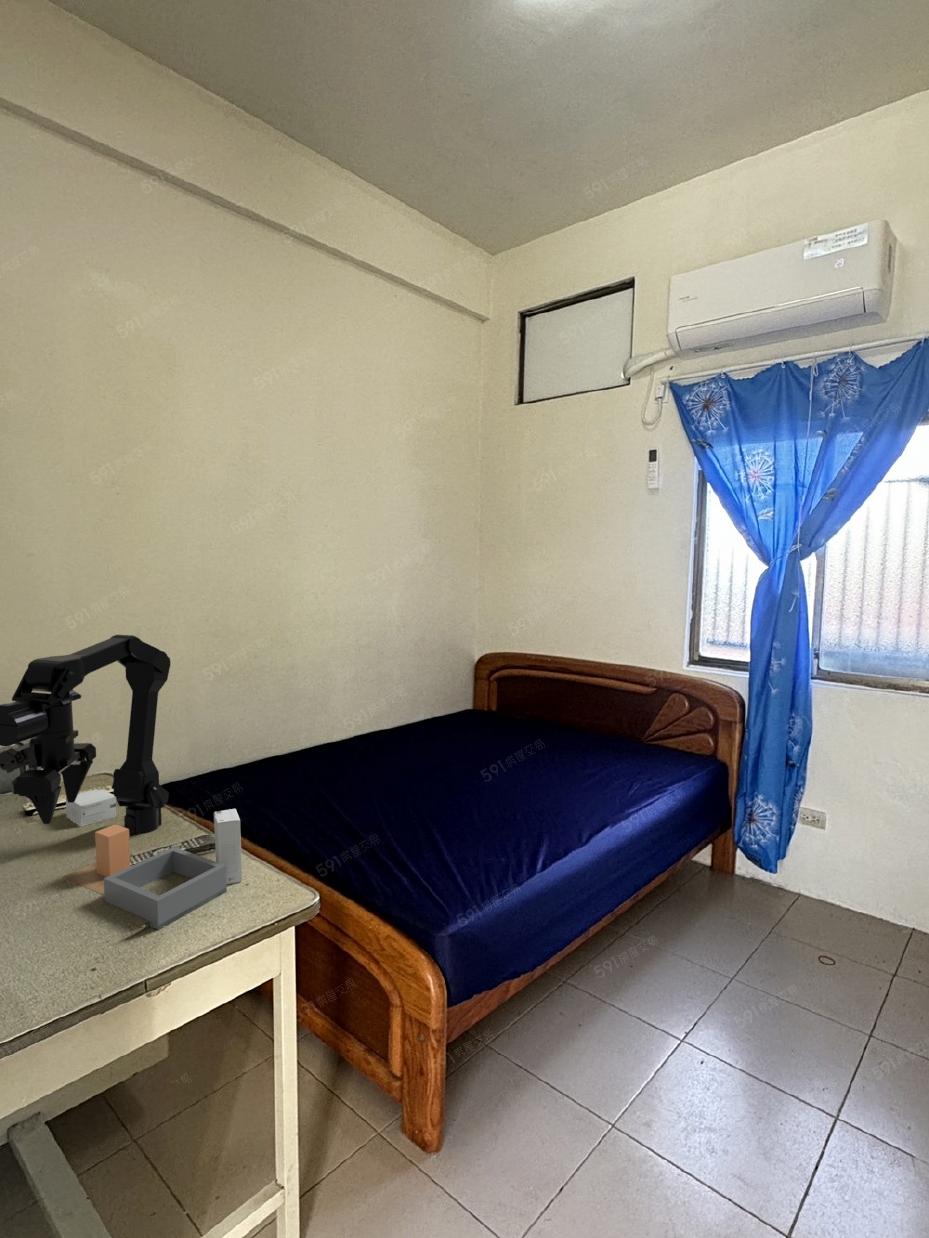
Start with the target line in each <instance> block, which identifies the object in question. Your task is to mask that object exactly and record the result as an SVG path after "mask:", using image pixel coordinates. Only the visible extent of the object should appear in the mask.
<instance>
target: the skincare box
mask: <svg viewBox="0 0 929 1238" xmlns="http://www.w3.org/2000/svg"><path fill="white" fill-rule="evenodd" d="M213 825H214V829H213V830H214V845H215V848H214V849H215V862H218V863H221V864H224V865H226V886H227V885H231V884H237V883H241V882H243V861H242V841H241V840H242V839H241V835H242V833H241V819H240V816H239V814H238V812H237V808H232V809H231V808H229V809H224V810H218V811H214V812H213Z"/></svg>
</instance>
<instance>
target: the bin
mask: <svg viewBox="0 0 929 1238" xmlns="http://www.w3.org/2000/svg"><path fill="white" fill-rule="evenodd" d="M173 872H174V873H176V874H179V875H181V876H184V877H187V878H190V879H189V880H187V881H186V882H183V883H181V884H179V885H178V886H176V887H173V888H171V889H170V890H168V891H166V892H163V893H162V894H160V895H158V894H156V893H154V892H151V891H149V890H146V889H144V888H142V887H144V886H147V885H148V884H150V883H152V882H154V881H156V880H158V879H160V878H162V877H165V876H167V875H169V874H171V873H173ZM227 889H228V887H227V885H226V865H224V864H221V863H218V862H216V860H215V861H214V860H213V859H209V858H206V857H203V856H201V855H199V854H195V853H193V852H190V851H187V850H184V849H181V848H179V847H176V846H172V847H171V848H169V849H166V850H164V851H162V852H159V853H158V854H155V855H153V856H150V857H149V858H146V859H145V860H144V861H141V862H139V863H137V864H135V865H132V866H130V867H128V868H126V869H124V870H121V871H119V872H117V873H115V874H112V875H110V876H108V877H106V878H104V896H103V897H104V900H103V901H104V902H106V903H108V904H112V905H113V906H115V907H117V908H119V909H122V910H123V911H126V912H128V913H131V914H133V915H135V916H138V917H140V918H142V919H145V920H146V921H147V922H146V923H145V925H146V926H148V927H150V926H152V927H153V928H152V927H151V928H152V929H154V928H156V929H155V930H157V929H158V930H157V931H159V929H160V928H161V929H163V928H164V927H163V926H165V927H167V926H168V925H170V924H172V923H174V922H176V921H177V920H179V919H181V918H183V917H184V916H186V915H188V914H190V913H191V912H193V911H195V910H197V909H199V908H200V907H202V906H204V905H206V904H208V903H209V902H211V901H213V900H214V899H216V898H218V897H220V896H222V895H223V894H225V893H227ZM187 913H188V914H187ZM185 914H186V915H185ZM166 925H167V926H166ZM162 927H163V928H162ZM161 929H160V930H161Z"/></svg>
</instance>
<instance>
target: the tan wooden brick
mask: <svg viewBox="0 0 929 1238" xmlns="http://www.w3.org/2000/svg"><path fill="white" fill-rule="evenodd" d="M94 834H95V835H94V837H95V856H96V857H95V861H96V862H95V863H96V866H97V874H100V875H102V876H105V877H108V876H110V875H112V874H115V873H117V872H119V871H121V870H124V869H126V868H128V867H130V854H131V851H130V846H131V845H130V835H129V829H127V828H125V827H124V826H121V825H118V824H113V825H110V826H107V827H104V828H103V829H100V830H96V831H95V832H94Z"/></svg>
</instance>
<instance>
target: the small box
mask: <svg viewBox="0 0 929 1238" xmlns="http://www.w3.org/2000/svg"><path fill="white" fill-rule="evenodd" d="M116 803H117V799H116V797H115V796H114V793H111V792H109V791H107V790H106V789H104V788H102V787H101V788H96V789H92V790H88V791H87V790H86V791H83V792H81V793H80V792H79V793H78V795H77V798H76V800H75V802H73V803H69V802H68V801H67V797H66V796H65V813H66V814H65V815H66V819H68V818H69V819H70V820H69V819H68V820H69V821H71V822H72V821H73V824H75V823H76V824H77V825H76V824H75V825H76V826H78V827H79V828H81V826H82V827H84V826H87V825H92V824H94V823H99V822H101V821H106V820H110V819H113V818H116V817H117V806H116Z"/></svg>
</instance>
